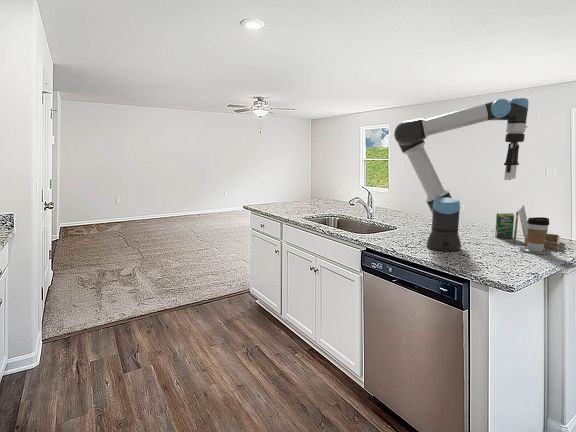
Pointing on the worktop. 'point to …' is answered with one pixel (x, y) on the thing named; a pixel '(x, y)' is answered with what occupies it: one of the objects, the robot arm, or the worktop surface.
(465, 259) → the worktop surface
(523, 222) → the frame
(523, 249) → the disc
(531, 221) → the coffee cup
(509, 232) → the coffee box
